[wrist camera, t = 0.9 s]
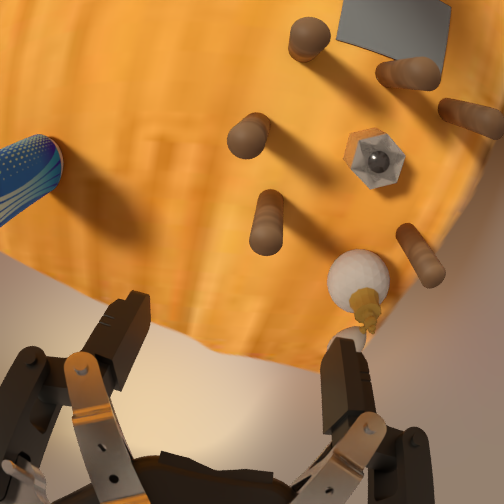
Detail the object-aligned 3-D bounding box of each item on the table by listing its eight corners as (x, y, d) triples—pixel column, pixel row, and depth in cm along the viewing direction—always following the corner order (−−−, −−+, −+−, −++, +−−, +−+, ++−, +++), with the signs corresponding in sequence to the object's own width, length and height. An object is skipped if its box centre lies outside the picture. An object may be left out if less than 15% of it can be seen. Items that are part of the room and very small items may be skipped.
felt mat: (349, -36, 17) (350, -36, 17) (450, 7, 17) (451, 7, 17) (336, 39, 22) (336, 39, 22) (439, 79, 23) (440, 79, 22)
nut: (352, 120, 27) (362, 125, 23) (395, 134, 27) (410, 142, 23) (339, 171, 30) (346, 183, 27) (380, 182, 30) (392, 196, 27)
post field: (260, 29, 23) (251, 6, 15) (461, 96, 23) (510, 107, 15) (229, 205, 33) (212, 245, 26) (410, 245, 33) (437, 290, 26)
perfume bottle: (388, 242, 34) (421, 308, 23) (368, 302, 39) (386, 371, 29) (330, 235, 34) (347, 304, 24) (316, 298, 39) (322, 371, 29)
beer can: (72, 141, 30) (-23, 189, 17) (64, 196, 35) (-14, 259, 21) (31, 125, 29) (-58, 165, 16) (26, 178, 33) (-50, 229, 20)
